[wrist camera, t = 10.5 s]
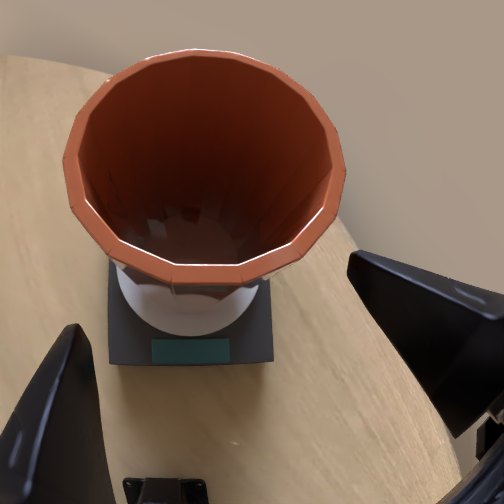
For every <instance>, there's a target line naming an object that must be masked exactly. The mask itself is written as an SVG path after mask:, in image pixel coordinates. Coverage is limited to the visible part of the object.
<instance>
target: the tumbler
mask: <svg viewBox="0 0 504 504" xmlns="http://www.w3.org/2000/svg"><path fill="white" fill-rule="evenodd" d="M62 162H63V169H64V176H65V182H66V188H67V194H68V199H69V204H70V208H71V210H72V213H73V214H74V215H75V216H76V218H77V219H78V220H79V222H80V223H81V224H82V226H83V227H84V228H85V229H86V231H87V232H88V233H89V234H90V236H91V237H92V238H93V239H94V241H95V242H96V243H97V244H98V245H99V247H100V248H101V249H102V250H103V251H104V253H105V254H106V255H107V256H108V257H109V258H110V259H111V260H112V261H113V262H114V263H115V264H116V265H117V266H118V267H119V268H120V269H121V270H122V271H123V272H124V273H125V274H126V275H127V276H128V277H129V278H130V279H131V280H132V281H133V282H134V283H135V284H136V285H137V286H138V287H139V288H140V289H141V290H142V291H143V292H144V293H145V294H146V295H148V296H149V297H150V298H151V299H152V300H153V301H154V302H155V303H156V304H157V305H159V306H160V307H163V308H165V309H167V310H169V311H171V312H174V313H177V314H180V315H201V314H204V313H207V312H209V311H212V310H214V309H216V308H218V307H221V306H223V305H224V304H226V303H228V302H230V301H231V300H233V299H235V298H236V297H238V296H240V295H242V294H243V293H245V292H247V291H248V290H250V289H252V288H254V287H255V286H257V285H259V284H260V283H262V282H264V281H265V280H267V279H269V278H270V277H272V276H274V275H276V274H277V273H279V272H281V271H282V270H284V269H286V268H287V267H289V266H290V265H292V264H294V263H295V262H297V261H299V260H300V259H301V258H303V257H304V256H305V255H306V253H307V252H308V251H309V250H310V249H311V248H312V246H313V245H314V244H315V243H316V242H317V241H318V239H319V238H320V237H321V236H322V235H323V233H324V232H325V231H326V230H327V229H328V227H329V226H330V225H331V224H332V223H333V221H334V220H335V218H336V216H337V213H338V208H339V204H340V200H341V195H342V191H343V186H344V181H345V177H346V168H345V163H344V158H343V154H342V149H341V145H340V141H339V137H338V132H337V130H336V128H335V126H334V125H333V123H332V122H331V120H330V119H329V117H328V116H327V114H326V113H325V112H324V110H323V109H322V107H321V106H320V104H319V103H318V102H317V100H316V99H315V97H314V96H313V95H312V94H311V93H310V92H309V91H307V90H306V89H304V87H302V86H301V85H300V84H298V83H297V82H296V81H294V80H293V79H291V78H290V77H289V76H288V75H286V74H285V73H283V72H282V71H281V70H279V69H277V68H276V67H273V66H271V65H268V64H266V63H263V62H261V61H257V60H255V59H252V58H250V57H247V56H244V55H241V54H238V53H234V52H225V51H214V50H200V49H192V50H191V49H188V50H182V51H177V52H172V53H167V54H162V55H157V56H153V57H149V58H146V59H144V60H142V61H140V62H138V63H136V64H134V65H132V66H130V67H128V68H127V69H125V70H123V71H121V72H120V73H118V74H116V75H114V76H113V77H111V78H109V79H108V80H107V81H105V82H104V84H103V85H102V86H101V87H100V88H99V89H98V90H97V91H96V92H95V93H94V94H93V96H92V97H91V98H90V99H89V100H88V101H87V102H86V104H85V105H84V106H83V107H82V108H81V110H80V111H79V112H78V114H77V115H76V118H75V120H74V123H73V126H72V129H71V132H70V135H69V138H68V141H67V145H66V148H65V151H64V155H63V161H62Z"/></svg>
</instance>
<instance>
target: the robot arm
mask: <svg viewBox="0 0 504 504" xmlns="http://www.w3.org/2000/svg"><path fill="white" fill-rule="evenodd" d="M347 277H348V279H349V281H350V282H351V284H352V285H353V287H354V289H355V290H356V292H357V294H358V295H359V297H360V299H361V300H362V302H363V304H364V305H365V307H366V308H367V310H368V312H369V313H370V314H371V316H372V317H373V319H374V320H375V321H376V323H377V324H378V325H379V327H380V328H381V329H382V331H383V332H384V334H385V335H386V336H387V338H388V339H389V341H390V342H391V343H392V345H393V346H394V348H395V349H396V350H397V352H398V353H399V355H400V356H401V358H402V359H403V360H404V362H405V363H406V365H407V366H408V368H409V369H410V371H411V372H412V373H413V375H414V376H415V378H416V379H417V381H418V382H419V384H420V385H421V387H422V388H423V390H424V391H425V393H426V394H427V396H428V397H429V399H430V401H431V402H432V404H433V405H434V407H435V409H436V410H437V412H438V413H439V415H440V416H441V418H442V420H443V421H444V423H445V424H446V426H447V428H448V429H449V431H450V433H451V434H452V436H453V437H454V438H455V439H456V438H457V437H459V436H460V435H461V434H462V433H463V432H465V431H466V430H467V429H468V428H469V427H470V426H471V425H473V424H474V423H475V422H476V421H477V420H478V419H479V418H480V417H481V416H482V415H483V414H484V413H485V412H487V413H488V414H489V415H490V416H489V417H488V418H487V419H486V420H485V421H484V423H483V424H482V425H481V426H480V427H479V428H478V429H477V443H476V458H477V459H478V460H479V462H478V463H477V464H476V466H475V467H474V468H473V469H472V470H471V471H470V472H469V473H468V474H467V475H466V476H465V477H464V478H463V479H462V480H461V481H460V482H459V483H458V484H457V485H456V486H455V487H454V488H453V489H452V490H451V491H450V492H449V493H448V494H447V495H445V496H444V497H443V498H442V499H441V500H440V501H439V502H438V503H436V504H504V295H503V294H500V293H496V292H492V291H489V290H485V289H482V288H479V287H475V286H472V285H468V284H465V283H462V282H459V281H456V280H453V279H450V278H449V279H448V278H447V277H444V276H441V275H438V274H435V273H432V272H429V271H426V270H423V269H420V268H417V267H414V266H411V265H408V264H404V263H401V262H398V261H395V260H392V259H389V258H386V257H382V256H379V255H376V254H373V253H370V252H366V251H363V250H358V251H355V252H352V253H351V254H350V256H349V262H348V268H347ZM14 410H15V411H13V413H12V415H11V417H10V418H9V420H8V422H7V424H6V426H5V428H4V430H3V432H2V434H1V435H0V504H116V501H115V497H114V493H113V489H112V484H111V480H110V475H109V470H108V464H107V459H106V453H105V446H104V439H103V432H102V424H101V415H100V404H99V394H98V387H97V381H96V375H95V369H94V362H93V355H92V348H91V344H90V342H89V340H88V338H87V337H86V335H85V333H84V331H83V329H82V328H81V326H80V325H79V324H77V323H75V324H71V325H67V326H66V327H65V328H64V329H63V331H62V332H61V334H60V335H59V337H58V338H57V340H56V341H55V343H54V344H53V346H52V347H51V349H50V350H49V352H48V353H47V355H46V357H45V358H44V360H43V361H42V363H41V364H40V366H39V368H38V369H37V371H36V373H35V374H34V376H33V377H32V379H31V381H30V383H29V384H28V386H27V388H26V389H25V391H24V393H23V395H22V396H21V398H20V400H19V402H18V404H17V405H16V407H15V409H14ZM126 482H129V483H131V484H132V485H129V484H127V483H126ZM197 484H202V486H197ZM123 488H124V492H125V495H126V499H127V503H128V504H209V502H208V495H207V488H206V483H205V481H204V480H201V479H186V480H179V479H177V478H145V479H140V478H125V479H124V480H123Z"/></svg>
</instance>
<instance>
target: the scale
mask: <svg viewBox="0 0 504 504" xmlns="http://www.w3.org/2000/svg"><path fill="white" fill-rule="evenodd" d="M108 347H109V364H114V365H135V366H212V365H233V364H248V363H261V362H272V361H274V355H273V335H272V316H271V298H270V281H269V279H267V280H265V281H264V282H262V283H260V284H259V285H257V286H255V287H254V288H252V289H250V290H248V291H247V292H245V293H243V294H242V295H240V296H238V297H236V298H235V299H233V300H231V301H230V302H228V303H226V304H224V305H223V306H221V307H218V308H216V309H214V310H212V311H209V312H207V313H204V314H201V315H180V314H177V313H174V312H171V311H169V310H167V309H165V308H163V307H160V306H159V305H157V304H156V303H155V302H154V301H153V300H152V299H151V298H150V297H149V296H148V295H146V294H145V293H144V292H143V291H142V290H141V289H140V288H139V287H138V286H137V285H136V284H135V283H134V282H133V281H132V280H131V279H130V278H129V277H128V276H127V275H126V274H125V273H124V272H123V271H122V270H121V269H120V268H119V267H118V266H117V265H116V264H115V263H114V262H113V261H112V260H111V259H110V258H109V277H108Z"/></svg>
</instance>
